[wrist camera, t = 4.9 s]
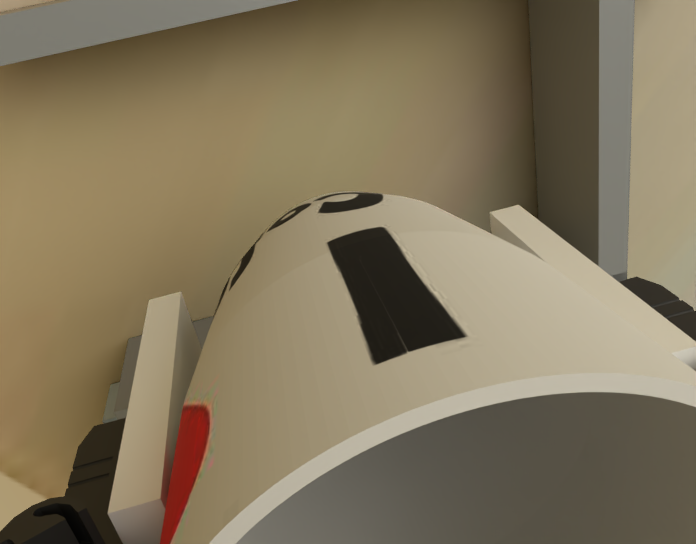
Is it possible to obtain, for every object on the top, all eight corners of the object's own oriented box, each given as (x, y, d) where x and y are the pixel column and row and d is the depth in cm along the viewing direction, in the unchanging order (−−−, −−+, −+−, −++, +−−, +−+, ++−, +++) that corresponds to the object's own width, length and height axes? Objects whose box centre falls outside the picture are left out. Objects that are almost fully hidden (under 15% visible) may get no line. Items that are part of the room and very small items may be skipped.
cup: (341, 51, 14) (568, 198, 5) (552, 266, 17) (911, 582, 8) (111, 308, 15) (-33, 773, 6) (347, 459, 19) (465, 898, 10)
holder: (564, 246, 30) (626, 297, 25) (138, 361, 28) (125, 436, 23) (554, -107, 23) (638, -122, 18) (-10, 14, 21) (-67, 29, 17)
